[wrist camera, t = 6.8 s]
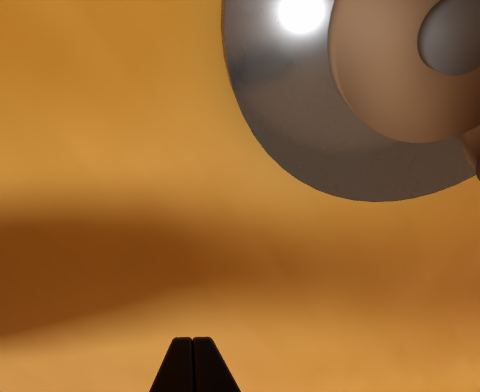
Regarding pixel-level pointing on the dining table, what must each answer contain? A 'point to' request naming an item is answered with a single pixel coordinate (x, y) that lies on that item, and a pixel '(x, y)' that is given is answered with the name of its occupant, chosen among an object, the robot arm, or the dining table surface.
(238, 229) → the dining table surface
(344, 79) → the crank handle
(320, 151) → the post base
